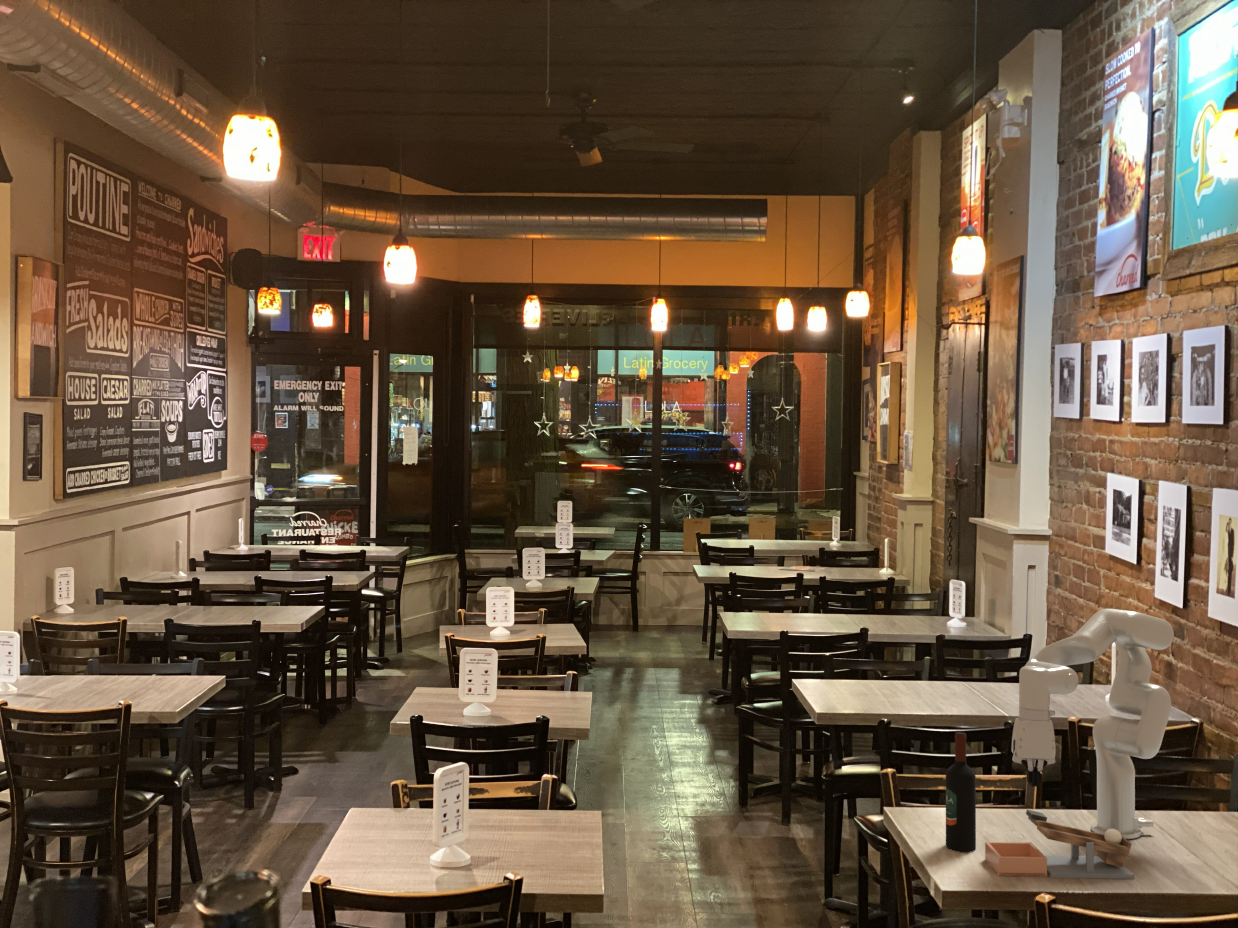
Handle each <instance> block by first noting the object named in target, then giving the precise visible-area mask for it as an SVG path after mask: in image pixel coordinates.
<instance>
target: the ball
mask: <svg viewBox="0 0 1238 928" xmlns="http://www.w3.org/2000/svg"><path fill="white" fill-rule="evenodd" d="M1104 838H1105V840H1106V842H1108V843H1113V844H1117V845H1118V844H1120V843H1121V840H1122V836H1121V834H1120V832H1119V831H1118V830H1116V829H1108V830H1107V831H1106V832H1105V834H1104Z"/></svg>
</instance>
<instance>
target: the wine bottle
mask: <svg viewBox="0 0 1238 928" xmlns="http://www.w3.org/2000/svg"><path fill="white" fill-rule="evenodd" d="M954 754H955V755H954V764H952V765H950V766H949V767H948V769H946V772H945V847H946V849H948V850H950V851H953V852H958V851H959V852H958V853H971V852H970V851H972V852H974V851H976V849H977V843H976V842H977V841H976V840H977V839H976V838H977V837H976V835H977V831H976V830H977V824H976V823H977V821H976V820H977V818H976V817H977V816H976V815H977V811H976V810H977V805H976V803H977V802H976V801H977V800H976V799H977V798H976V797H977V796H976V795H977V793H976V791H977V790H976V789H977V788H976V787H977V785H976V784H977V783H976V780H977V779H976V778H977V777H976V773H975V772H974V770H973V769H972V768H971V767H970V766H969V765H968V764H967V733H966V732H961V731H956V732H955V733H954ZM973 850H974V851H973Z"/></svg>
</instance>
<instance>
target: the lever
mask: <svg viewBox="0 0 1238 928" xmlns="http://www.w3.org/2000/svg"><path fill="white" fill-rule="evenodd" d="M1025 815H1026V816H1027V817H1028V818H1027V819H1028V820H1029V821H1030V822H1032V824H1033V825H1035V827H1036V830H1037V831H1039V832H1040V834H1042V835H1043V837H1045V839H1047V840H1051V841H1055V842H1060V843H1065V844H1068V845H1071V844H1073V845H1077V846H1079V847H1083V848H1086V842H1093V843H1094V851H1095V850H1097V852H1096V856H1098V857H1099V858H1100V859H1102V860H1103V861H1104V862H1105V863H1107V864H1111V865H1116V866H1120V867H1122V866H1124V860H1125V857H1127V858H1128V857H1129V856H1130V851H1131V846H1132V842H1130V841H1129V839H1125V838H1124V837H1123V836H1122V840H1121V843H1120V844H1118V845H1117V844H1113V843H1108V842H1106V840H1105V838H1104V835H1103V834H1099V833H1095V832H1093V831H1089V830H1084V829H1080V828H1075V827H1071V826H1067V825H1061V824H1059V823H1055V822H1054V823H1052V822H1049V821H1048V817H1047V816H1046V815H1045V814H1044V813H1043V812H1041V811H1036V810H1031V809H1026V812H1025Z"/></svg>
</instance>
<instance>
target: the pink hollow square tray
mask: <svg viewBox="0 0 1238 928" xmlns="http://www.w3.org/2000/svg"><path fill="white" fill-rule="evenodd" d="M984 844H985V845H984V846H985V847H984V849H985V850H984V856H985V857H984V858H985V859H984V860H985V861H986V862H987V863H988V864H989V866H990V867H991V868H992V869H993V870H994V871H995V873H996V874H997V876H999V877H1042V878H1043V877H1048V874H1047V858H1046V857H1045V856H1044V853H1042V851H1040V849H1038V848H1037V846H1035V845H1034V844H1033V843H1032V842H1028V841H1026V842H1024V841H1022V842H1019V841H1018V842H1017V841H1014V842H1013V841H984Z"/></svg>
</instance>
